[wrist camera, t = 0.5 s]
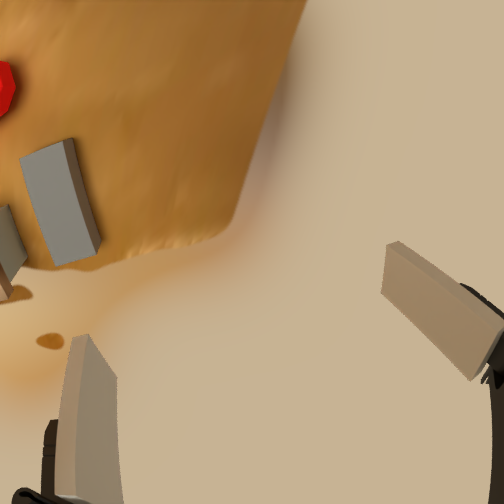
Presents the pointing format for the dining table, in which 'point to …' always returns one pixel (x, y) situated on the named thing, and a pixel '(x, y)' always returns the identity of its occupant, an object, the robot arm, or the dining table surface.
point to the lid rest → (61, 202)
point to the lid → (4, 285)
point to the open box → (10, 244)
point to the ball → (6, 87)
